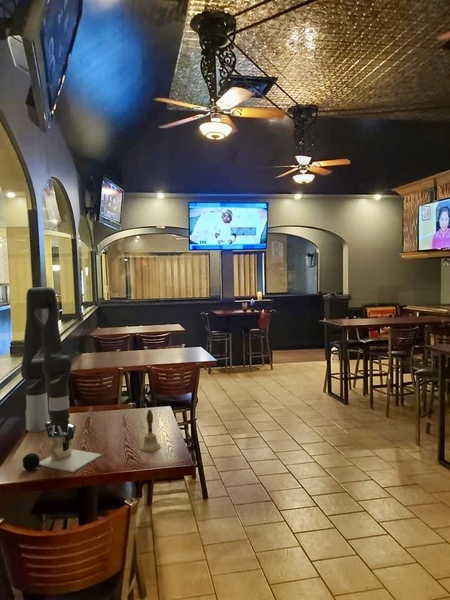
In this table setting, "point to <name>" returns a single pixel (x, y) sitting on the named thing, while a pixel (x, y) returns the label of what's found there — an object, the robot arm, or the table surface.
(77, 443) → the table surface
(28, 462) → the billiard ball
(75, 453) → the mat
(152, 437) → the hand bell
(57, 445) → the block
